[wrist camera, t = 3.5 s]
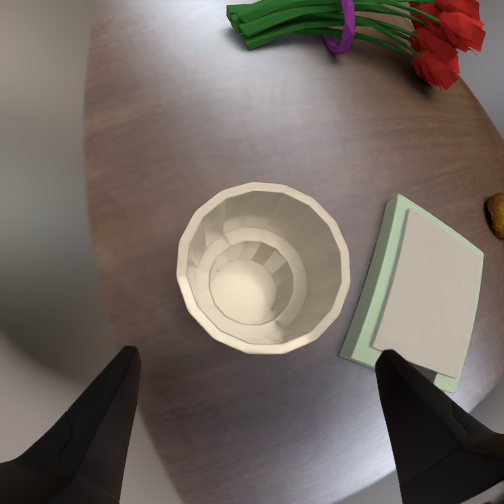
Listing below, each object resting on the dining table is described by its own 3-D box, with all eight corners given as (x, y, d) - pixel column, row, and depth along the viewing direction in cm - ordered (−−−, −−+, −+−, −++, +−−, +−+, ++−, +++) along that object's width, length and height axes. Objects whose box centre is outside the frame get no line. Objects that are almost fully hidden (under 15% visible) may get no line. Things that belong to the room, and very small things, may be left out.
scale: (439, 390, 20) (458, 394, 18) (338, 355, 20) (354, 359, 18) (469, 258, 24) (487, 251, 22) (386, 203, 24) (402, 190, 22)
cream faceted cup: (267, 355, 20) (313, 379, 10) (179, 315, 20) (146, 305, 10) (303, 270, 22) (368, 226, 12) (220, 231, 22) (226, 158, 12)
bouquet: (233, 45, 36) (410, 44, 34) (244, 122, 32) (456, 116, 30) (210, -63, 16) (439, -43, 15) (213, -28, 13) (517, 20, 11)
